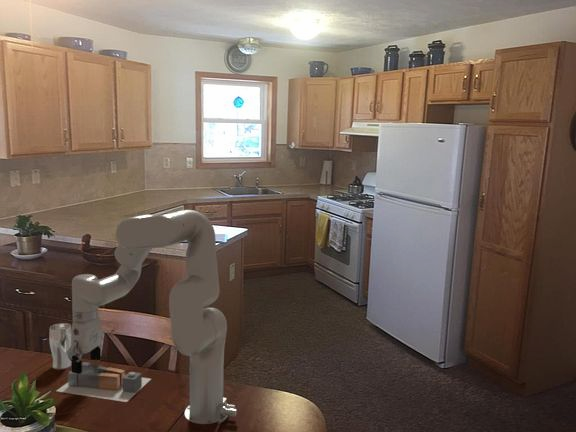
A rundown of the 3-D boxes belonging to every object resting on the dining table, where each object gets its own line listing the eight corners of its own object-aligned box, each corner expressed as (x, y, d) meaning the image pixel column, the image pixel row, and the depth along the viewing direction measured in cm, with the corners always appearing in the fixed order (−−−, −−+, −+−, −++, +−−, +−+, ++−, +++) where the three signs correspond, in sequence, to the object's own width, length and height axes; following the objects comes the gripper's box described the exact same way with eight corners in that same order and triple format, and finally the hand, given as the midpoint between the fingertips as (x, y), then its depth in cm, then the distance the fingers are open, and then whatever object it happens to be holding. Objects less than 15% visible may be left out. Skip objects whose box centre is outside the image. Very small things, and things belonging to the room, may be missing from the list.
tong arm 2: (125, 382, 156) (125, 370, 156) (121, 385, 155) (121, 372, 154) (84, 373, 161) (83, 361, 161) (80, 376, 160) (79, 364, 159)
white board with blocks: (151, 382, 160) (151, 364, 159) (126, 405, 146) (126, 386, 145) (85, 372, 165) (85, 355, 164) (55, 394, 151) (55, 375, 150)
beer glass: (64, 374, 164) (62, 331, 162) (46, 372, 165) (44, 329, 163) (77, 365, 171) (76, 324, 168) (59, 363, 172) (57, 322, 170)
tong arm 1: (119, 386, 154) (119, 374, 153) (117, 389, 152) (116, 377, 151) (71, 382, 155) (71, 370, 155) (68, 385, 154) (67, 372, 153)
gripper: (78, 325, 144) (80, 380, 147) (112, 306, 161) (112, 356, 164) (56, 322, 146) (57, 376, 148) (91, 304, 162) (92, 353, 165)
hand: (86, 365), depth 156 cm, fingers open, 9 cm apart
